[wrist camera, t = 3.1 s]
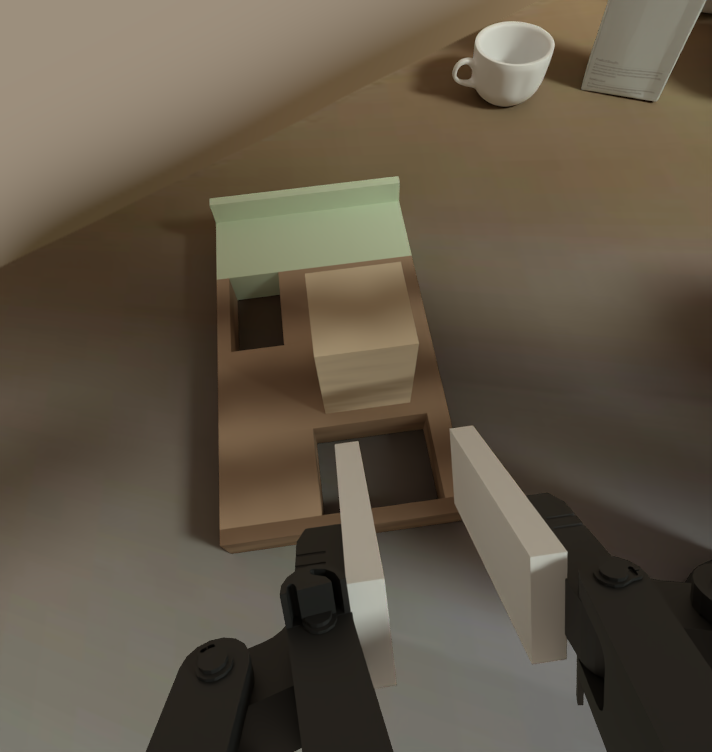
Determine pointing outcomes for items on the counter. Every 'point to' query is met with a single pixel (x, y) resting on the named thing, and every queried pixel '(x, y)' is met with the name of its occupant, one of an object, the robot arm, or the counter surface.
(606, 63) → the skincare box
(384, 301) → the maple block
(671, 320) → the counter surface
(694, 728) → the robot arm
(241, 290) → the pad
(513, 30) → the teacup
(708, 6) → the paper bowls
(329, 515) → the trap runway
